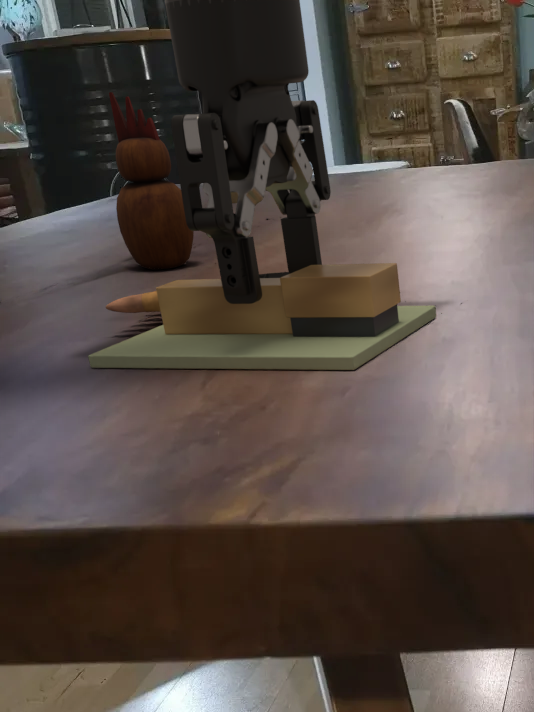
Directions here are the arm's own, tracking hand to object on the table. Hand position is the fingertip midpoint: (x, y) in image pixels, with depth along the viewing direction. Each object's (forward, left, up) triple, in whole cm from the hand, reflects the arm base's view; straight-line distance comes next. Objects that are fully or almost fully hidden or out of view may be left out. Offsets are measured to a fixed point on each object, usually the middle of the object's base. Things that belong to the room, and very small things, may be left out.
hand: (277, 288), depth 70 cm
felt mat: (-1, 0, -3) cm, 3 cm away
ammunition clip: (-3, +9, -1) cm, 9 cm away
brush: (0, 0, -2) cm, 3 cm away
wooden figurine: (-28, +30, -4) cm, 41 cm away
